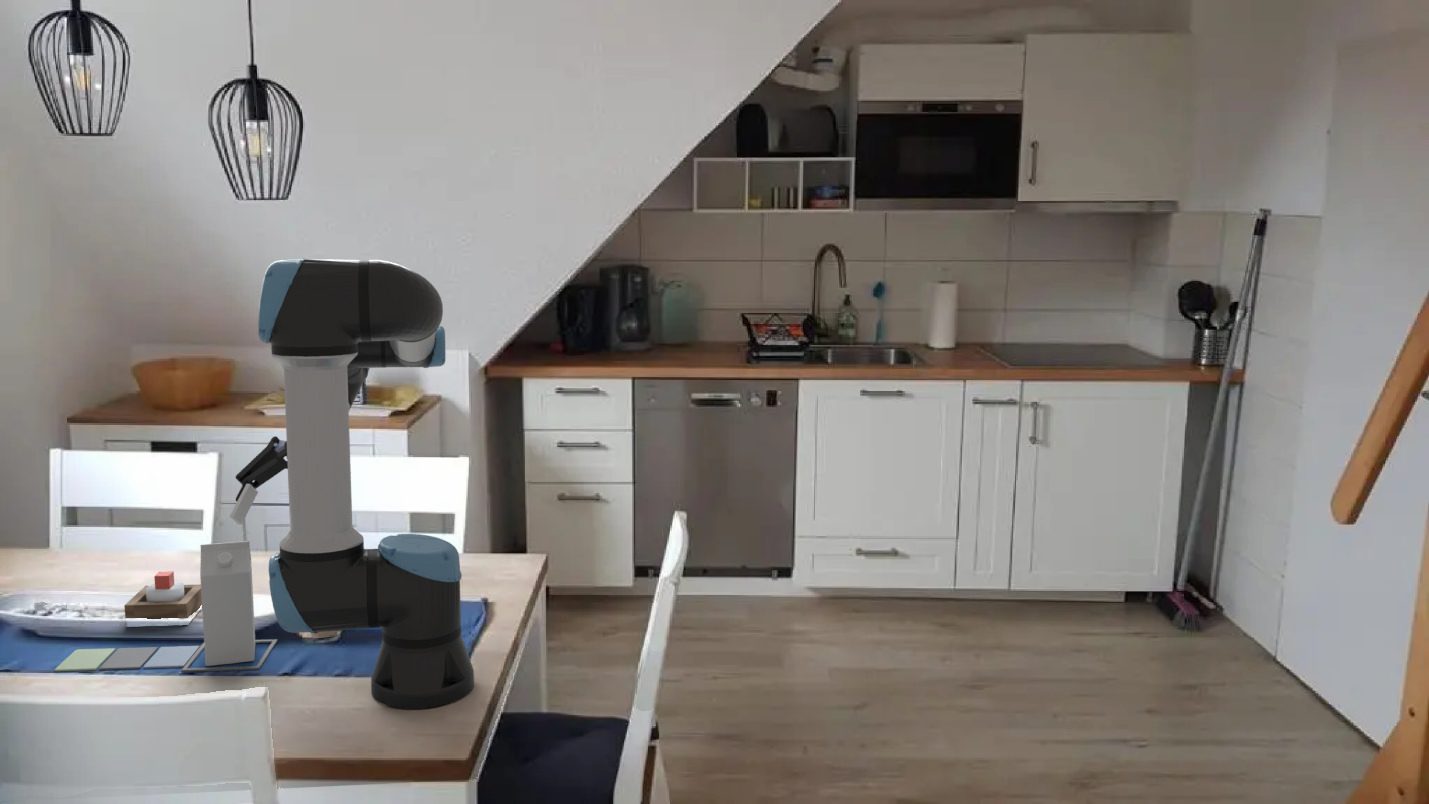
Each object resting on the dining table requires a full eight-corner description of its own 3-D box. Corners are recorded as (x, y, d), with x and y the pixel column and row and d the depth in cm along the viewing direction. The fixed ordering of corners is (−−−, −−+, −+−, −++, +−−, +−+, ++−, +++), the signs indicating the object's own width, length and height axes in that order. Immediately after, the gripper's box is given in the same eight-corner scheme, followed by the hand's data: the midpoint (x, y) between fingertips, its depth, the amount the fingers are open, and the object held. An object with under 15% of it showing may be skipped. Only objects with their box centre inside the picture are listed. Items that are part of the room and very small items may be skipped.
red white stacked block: (178, 614, 194) (176, 578, 193) (142, 615, 193) (139, 579, 192) (189, 602, 200) (187, 567, 199) (154, 603, 199) (152, 568, 198)
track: (259, 669, 175) (259, 667, 175) (49, 676, 171) (49, 674, 171) (277, 641, 187) (277, 639, 187) (81, 646, 182) (80, 645, 182)
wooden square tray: (187, 625, 192) (186, 603, 192) (125, 627, 191) (124, 605, 190) (205, 605, 202) (204, 584, 201) (146, 606, 201) (145, 585, 200)
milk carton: (208, 650, 182) (202, 538, 179) (255, 645, 185) (249, 534, 181) (205, 667, 176) (198, 551, 172) (254, 661, 178) (248, 547, 175)
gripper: (390, 437, 198) (342, 542, 187) (272, 427, 205) (219, 528, 193) (372, 413, 192) (322, 520, 181) (251, 403, 199) (195, 506, 187)
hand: (268, 524), depth 187 cm, fingers open, 13 cm apart
